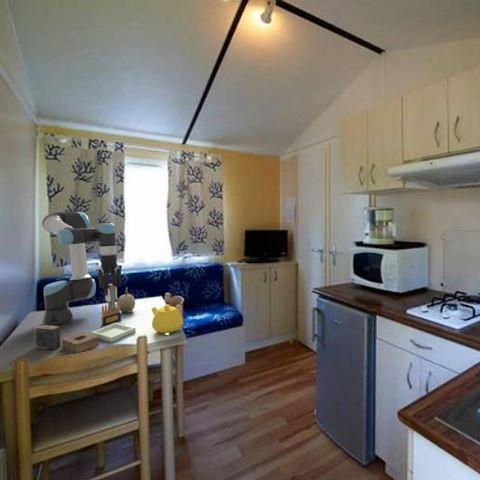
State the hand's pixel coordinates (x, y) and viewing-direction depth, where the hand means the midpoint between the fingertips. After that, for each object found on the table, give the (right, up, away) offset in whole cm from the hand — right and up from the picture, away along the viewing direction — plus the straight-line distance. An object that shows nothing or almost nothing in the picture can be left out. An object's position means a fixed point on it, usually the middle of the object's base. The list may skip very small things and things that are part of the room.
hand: (111, 300), depth 146 cm
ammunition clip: (-8, -17, +18) cm, 26 cm away
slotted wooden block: (-9, -19, -11) cm, 24 cm away
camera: (-25, -20, -12) cm, 34 cm away
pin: (0, -5, 0) cm, 5 cm away
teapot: (+26, -17, +5) cm, 32 cm away
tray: (+1, -18, +1) cm, 18 cm away
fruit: (-6, -16, +37) cm, 41 cm away
